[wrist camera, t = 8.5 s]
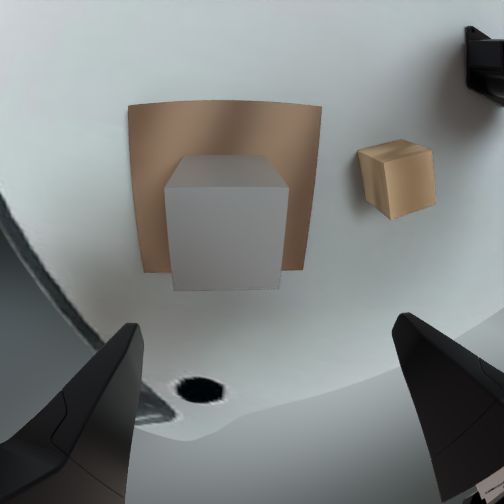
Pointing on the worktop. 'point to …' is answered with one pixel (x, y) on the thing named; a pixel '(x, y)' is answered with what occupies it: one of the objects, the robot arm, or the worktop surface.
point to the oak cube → (398, 177)
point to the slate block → (226, 223)
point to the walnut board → (221, 143)
